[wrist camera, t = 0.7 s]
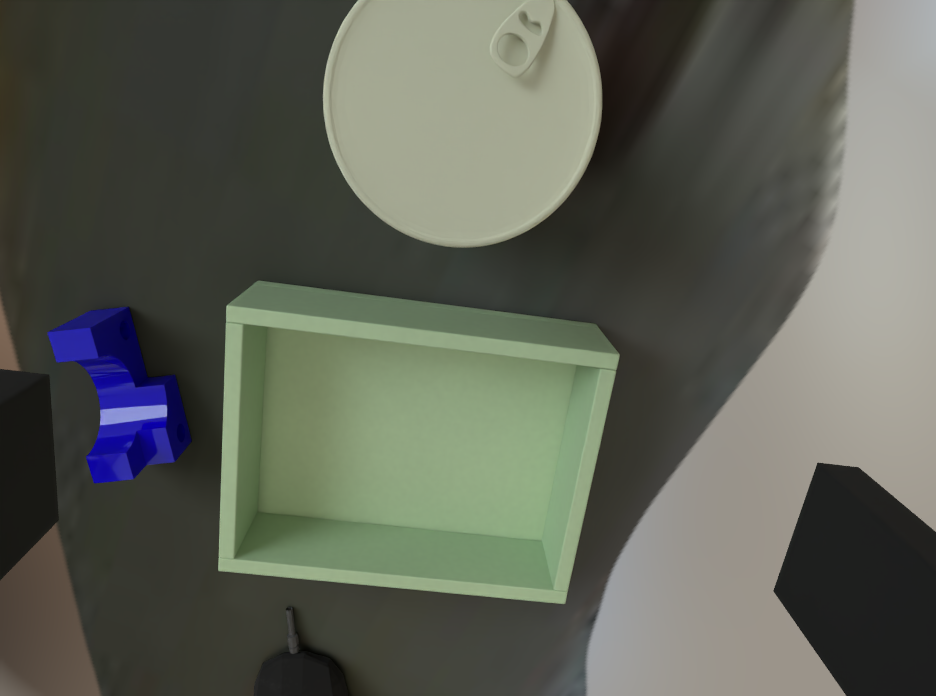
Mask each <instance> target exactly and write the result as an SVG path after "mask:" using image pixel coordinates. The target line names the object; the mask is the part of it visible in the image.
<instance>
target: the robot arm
mask: <svg viewBox="0 0 936 696" xmlns="http://www.w3.org/2000/svg"><path fill="white" fill-rule="evenodd" d="M58 520H59V517H58V502H57V486H56V471H55V456H54V440H53V425H52V409H51V394H50V378H49V375H47V374H39V373H30V372H21V371H12V370H4V369H0V580H1V579H2V578H3V577H4V576H5V575H6V574H7V573H8V572H9V571H10V570H11V569H12V567H13V566H15V565H16V563H17V562H18V561H19V560H20V559H21V558H22V557H23V556H24V555H25V554H26V553H27V552H28V551H29V550H30V549H31V548H32V547H33V546H34V545H35V544H36V543H37V542H38V541H39V540H40V539H41V538H42V537H43V536H44V535H45V534H46V533H47V532H48V531H49V530H50V529H51V528H52V526H53V525H54V524H55V523H56V522H57V521H58ZM774 593H775V594H776V595H777V597H778V598H779V600H780V601H781V602H782V604H783V605H784V607H785V608H786V610H787V611H788V613H789V614H790V616H791V617H792V618H793V620H794V621H795V623H796V624H797V626H798V627H799V628H800V630H801V631H802V633H803V634H804V636H805V637H806V638H807V640H808V641H809V643H810V644H811V646H812V647H813V648H814V650H815V651H816V653H817V654H818V655H819V657H820V658H821V660H822V661H823V663H824V664H825V666H826V667H827V668H828V670H829V671H830V673H831V674H832V676H833V677H834V679H835V680H836V681H837V683H838V684H839V686H840V687H841V688H842V690H843V691H844V693H845V694H846V696H936V532H935V531H934V530H933V529H931V528H930V527H929V526H928V525H926V524H925V523H924V522H923V521H922V520H921V519H920V518H918V517H917V516H916V515H915V514H914V513H912V512H911V511H910V510H909V509H908V508H906V507H905V506H904V505H903V504H902V503H900V502H899V501H898V500H897V499H896V498H894V497H893V496H892V495H891V494H890V493H888V492H887V491H886V490H885V489H884V488H883V487H881V486H880V485H879V484H878V483H877V482H875V481H874V480H873V479H872V478H871V477H869V476H868V475H867V474H866V473H865V472H863V471H862V470H861V469H860V468H858V467H850V466H842V465H833V464H824V463H817V466H816V469H815V472H814V475H813V478H812V481H811V484H810V486H809V489H808V492H807V495H806V498H805V501H804V504H803V507H802V510H801V513H800V516H799V518H798V521H797V524H796V527H795V530H794V533H793V536H792V539H791V541H790V544H789V548H788V550H787V553H786V556H785V559H784V562H783V565H782V568H781V571H780V573H779V576H778V580H777V582H776V585H775V588H774Z"/></svg>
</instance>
